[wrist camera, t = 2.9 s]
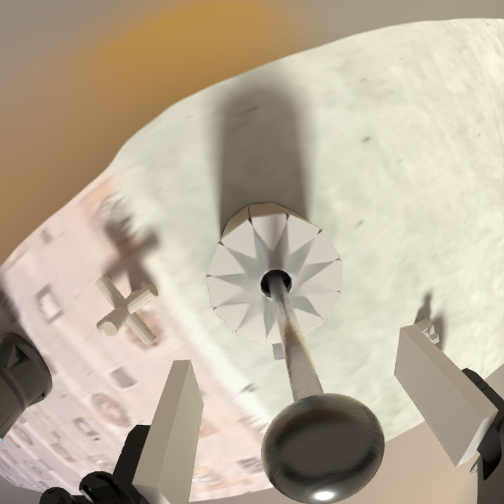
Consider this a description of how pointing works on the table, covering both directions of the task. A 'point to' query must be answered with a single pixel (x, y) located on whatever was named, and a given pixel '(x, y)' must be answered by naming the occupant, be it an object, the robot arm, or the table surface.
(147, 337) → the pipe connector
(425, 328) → the gateway
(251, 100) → the table surface
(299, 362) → the plunger
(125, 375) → the table surface
